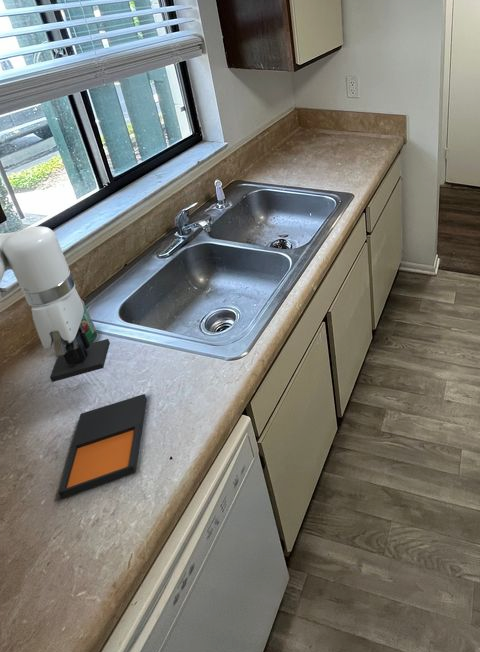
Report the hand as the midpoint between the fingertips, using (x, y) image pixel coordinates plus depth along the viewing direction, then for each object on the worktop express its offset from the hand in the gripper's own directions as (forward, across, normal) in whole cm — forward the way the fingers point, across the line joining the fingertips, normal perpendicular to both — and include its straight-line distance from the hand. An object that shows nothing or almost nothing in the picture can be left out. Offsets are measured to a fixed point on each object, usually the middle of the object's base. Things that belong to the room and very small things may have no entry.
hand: (79, 354), depth 92 cm
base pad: (+13, +14, +5) cm, 19 cm away
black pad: (+2, 0, 0) cm, 2 cm away
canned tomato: (+13, -19, -7) cm, 24 cm away
